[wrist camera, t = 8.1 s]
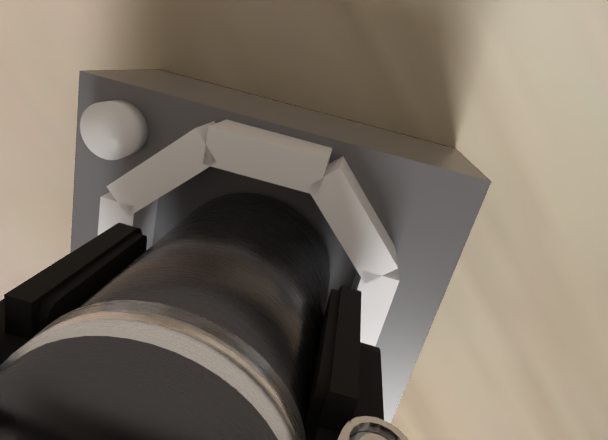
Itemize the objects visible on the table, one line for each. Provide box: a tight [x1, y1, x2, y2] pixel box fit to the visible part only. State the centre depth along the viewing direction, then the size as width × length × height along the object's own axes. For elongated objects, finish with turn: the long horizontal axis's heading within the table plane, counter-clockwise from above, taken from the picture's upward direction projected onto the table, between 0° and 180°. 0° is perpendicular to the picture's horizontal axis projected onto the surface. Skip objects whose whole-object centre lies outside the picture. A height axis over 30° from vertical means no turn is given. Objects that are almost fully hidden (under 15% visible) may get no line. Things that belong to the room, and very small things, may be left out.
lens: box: [0, 193, 330, 440], centre depth 10 cm, size 5×5×8 cm
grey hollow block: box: [71, 69, 491, 423], centre depth 15 cm, size 12×9×6 cm
